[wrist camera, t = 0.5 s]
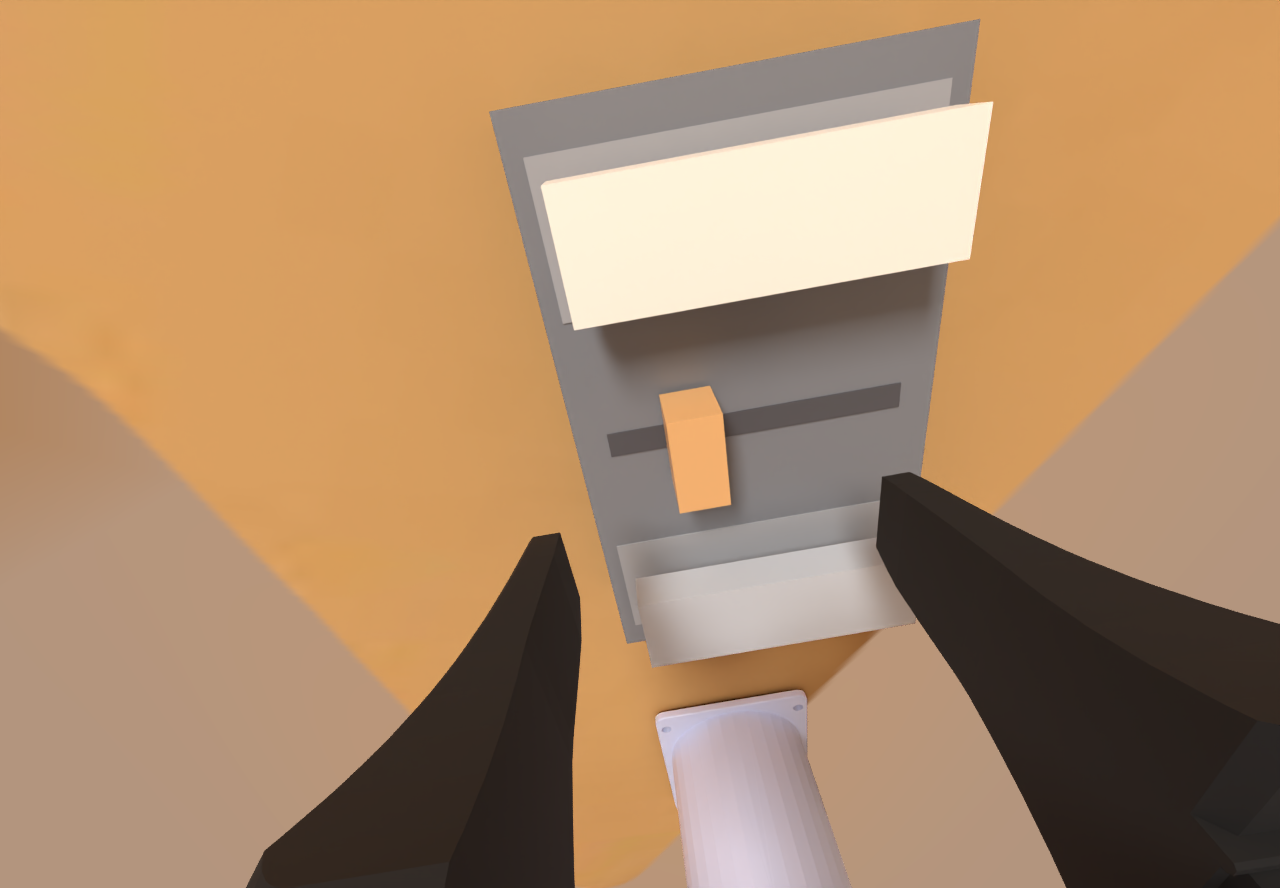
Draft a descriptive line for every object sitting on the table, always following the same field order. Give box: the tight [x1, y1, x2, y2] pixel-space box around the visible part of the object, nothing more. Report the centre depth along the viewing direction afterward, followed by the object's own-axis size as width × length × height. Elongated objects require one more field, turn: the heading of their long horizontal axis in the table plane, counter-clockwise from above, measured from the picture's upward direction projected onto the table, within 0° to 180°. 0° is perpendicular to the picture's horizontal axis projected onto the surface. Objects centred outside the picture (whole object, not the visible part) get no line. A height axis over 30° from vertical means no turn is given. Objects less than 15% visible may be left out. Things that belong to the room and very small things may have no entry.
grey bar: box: [636, 537, 916, 668], centre depth 18 cm, size 3×9×1 cm, turn 99°
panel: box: [489, 19, 980, 644], centre depth 18 cm, size 18×11×3 cm, turn 9°
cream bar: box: [541, 102, 993, 330], centre depth 12 cm, size 3×9×1 cm, turn 99°
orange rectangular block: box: [659, 386, 731, 514], centre depth 15 cm, size 3×2×2 cm, turn 9°
